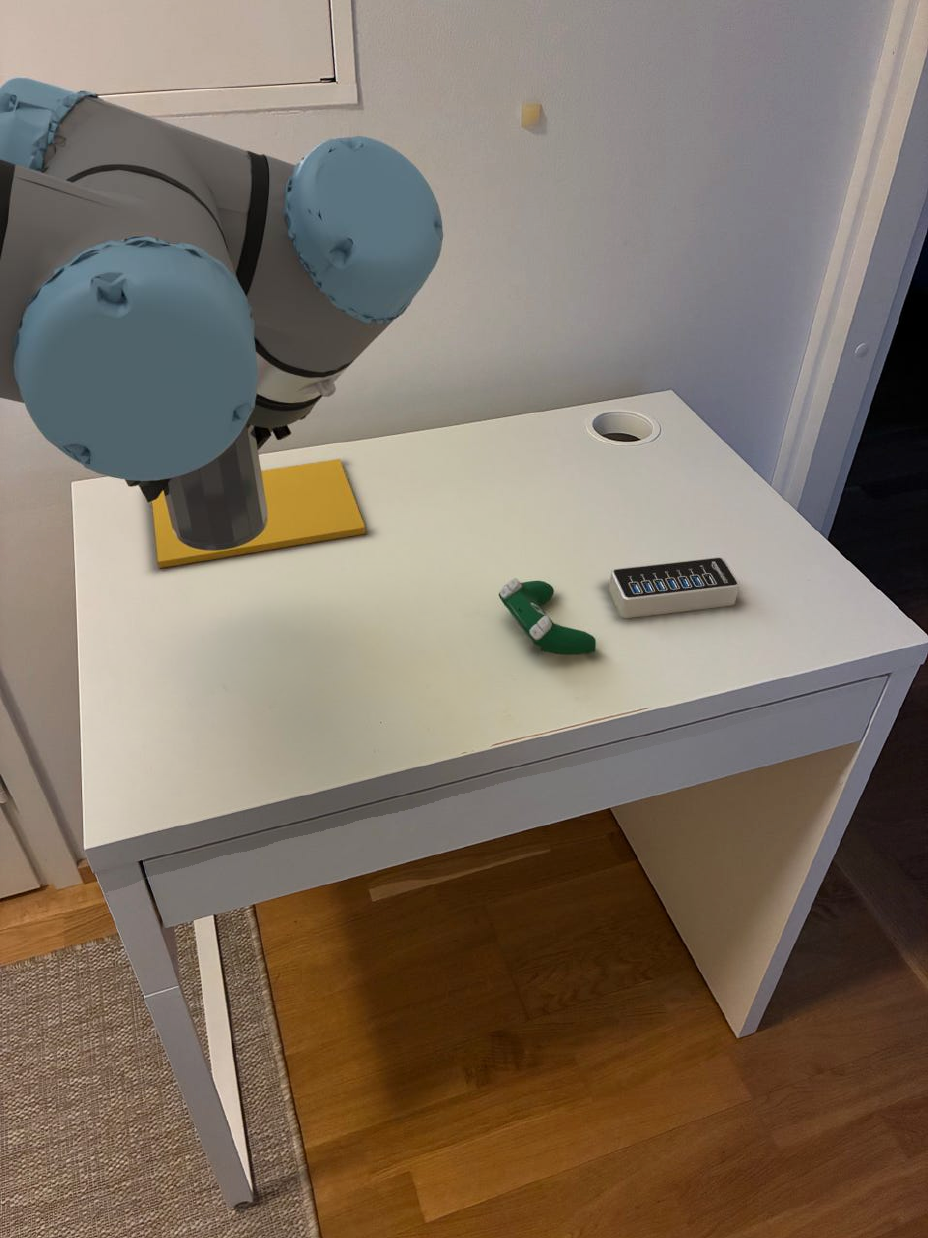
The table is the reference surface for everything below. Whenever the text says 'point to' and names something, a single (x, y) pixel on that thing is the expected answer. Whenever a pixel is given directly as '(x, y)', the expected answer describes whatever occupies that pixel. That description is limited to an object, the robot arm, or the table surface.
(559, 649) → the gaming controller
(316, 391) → the robot arm
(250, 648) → the table surface
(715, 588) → the multiport hub
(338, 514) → the mat
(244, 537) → the steel tumbler
